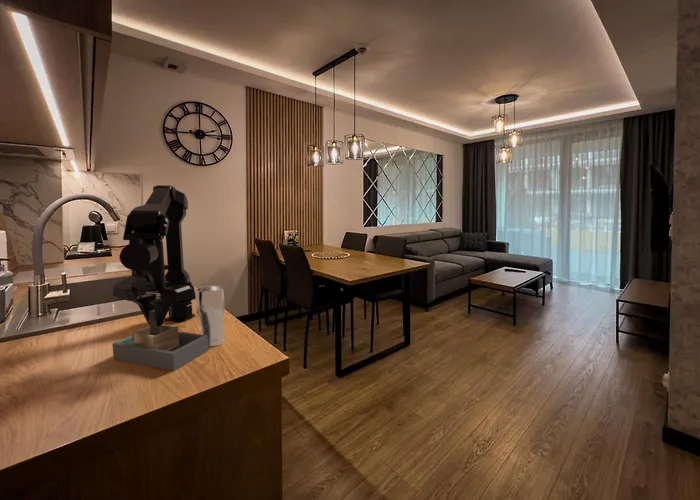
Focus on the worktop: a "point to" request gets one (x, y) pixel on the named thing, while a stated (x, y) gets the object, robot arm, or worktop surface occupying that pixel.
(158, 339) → the crate
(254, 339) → the worktop surface
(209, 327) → the beer glass
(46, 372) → the worktop surface
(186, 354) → the bay
